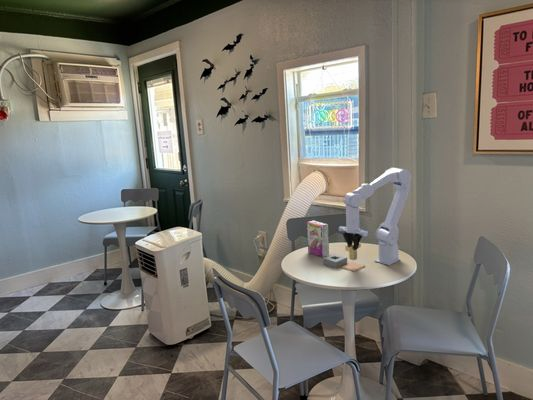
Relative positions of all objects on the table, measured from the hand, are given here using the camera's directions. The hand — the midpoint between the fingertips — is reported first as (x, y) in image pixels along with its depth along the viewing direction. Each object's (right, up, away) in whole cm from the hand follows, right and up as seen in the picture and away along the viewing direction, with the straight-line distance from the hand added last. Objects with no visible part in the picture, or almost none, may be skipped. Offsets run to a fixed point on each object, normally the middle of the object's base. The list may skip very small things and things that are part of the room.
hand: (353, 248), depth 176 cm
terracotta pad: (+1, -9, +2) cm, 9 cm away
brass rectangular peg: (0, -5, +1) cm, 5 cm away
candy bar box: (-13, -6, +22) cm, 26 cm away
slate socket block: (-7, -8, +7) cm, 13 cm away
